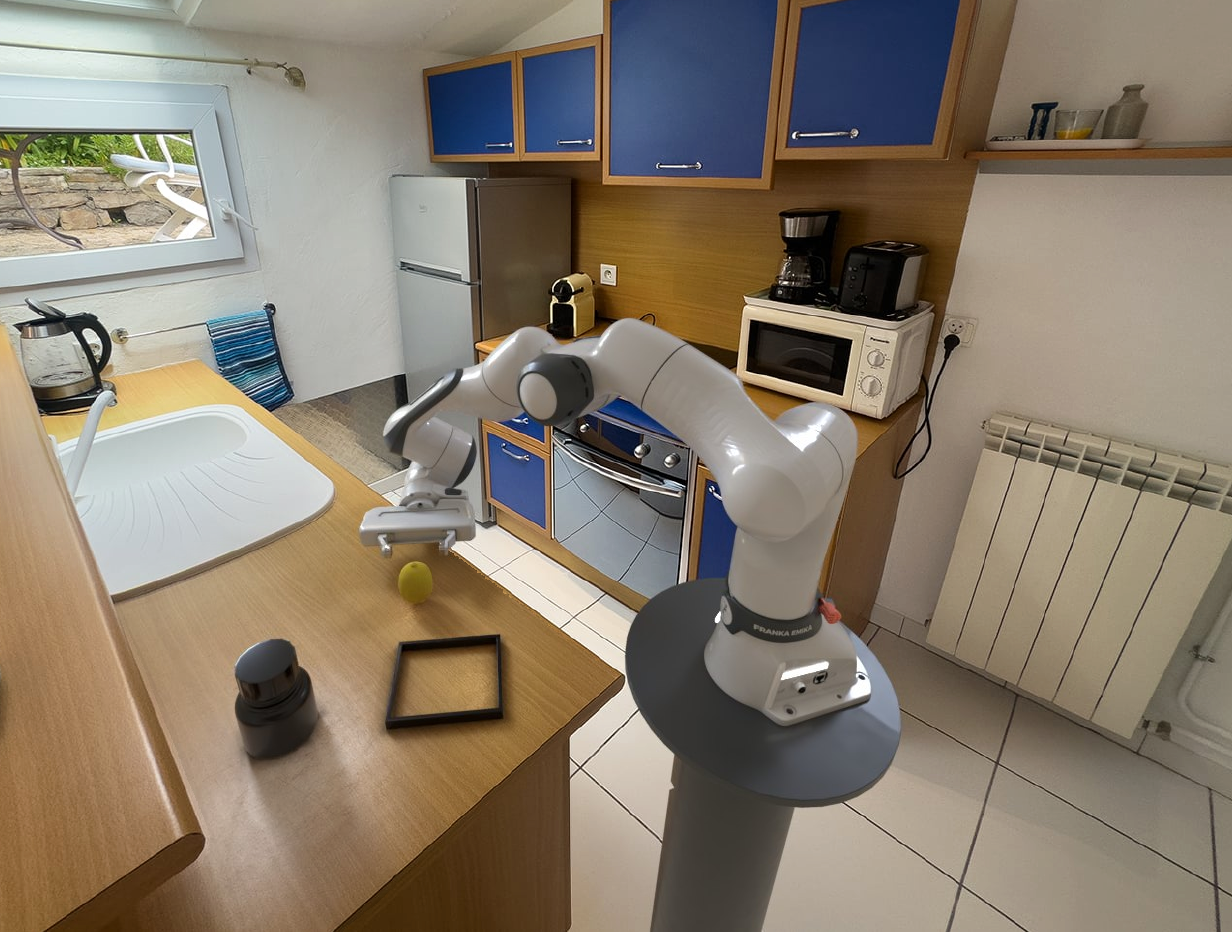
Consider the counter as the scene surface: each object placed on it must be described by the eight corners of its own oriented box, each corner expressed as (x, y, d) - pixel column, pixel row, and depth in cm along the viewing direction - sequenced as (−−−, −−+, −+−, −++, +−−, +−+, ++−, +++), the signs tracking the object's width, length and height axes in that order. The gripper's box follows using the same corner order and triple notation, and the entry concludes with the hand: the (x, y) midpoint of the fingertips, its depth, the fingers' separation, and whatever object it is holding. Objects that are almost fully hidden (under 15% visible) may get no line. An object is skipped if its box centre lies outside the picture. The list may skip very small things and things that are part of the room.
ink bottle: (322, 689, 80) (309, 623, 76) (322, 746, 73) (307, 677, 68) (244, 711, 77) (225, 643, 73) (235, 773, 70) (214, 702, 65)
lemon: (409, 587, 99) (405, 550, 96) (439, 593, 98) (436, 554, 95) (394, 611, 94) (389, 572, 91) (426, 616, 93) (422, 577, 90)
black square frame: (500, 641, 89) (500, 633, 88) (503, 718, 77) (503, 711, 76) (399, 649, 87) (398, 641, 86) (385, 730, 75) (384, 721, 74)
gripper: (364, 494, 107) (348, 541, 94) (475, 489, 109) (474, 535, 97) (368, 523, 110) (353, 572, 97) (476, 517, 112) (475, 565, 99)
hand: (414, 553), depth 97 cm, fingers open, 8 cm apart
